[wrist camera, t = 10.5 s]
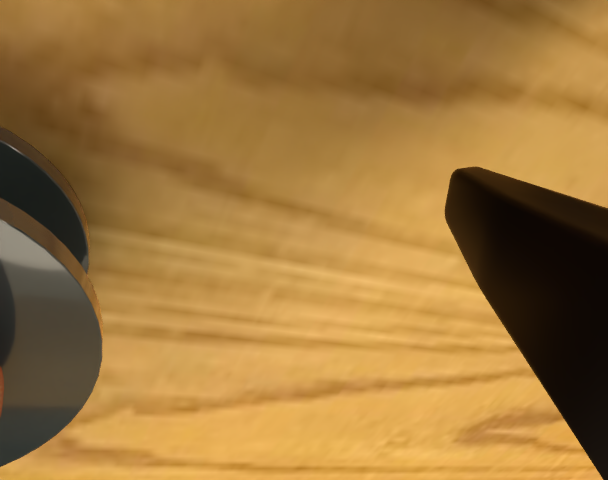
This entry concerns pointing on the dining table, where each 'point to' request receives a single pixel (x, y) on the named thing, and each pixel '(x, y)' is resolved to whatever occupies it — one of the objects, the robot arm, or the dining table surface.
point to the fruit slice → (1, 389)
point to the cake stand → (42, 301)
